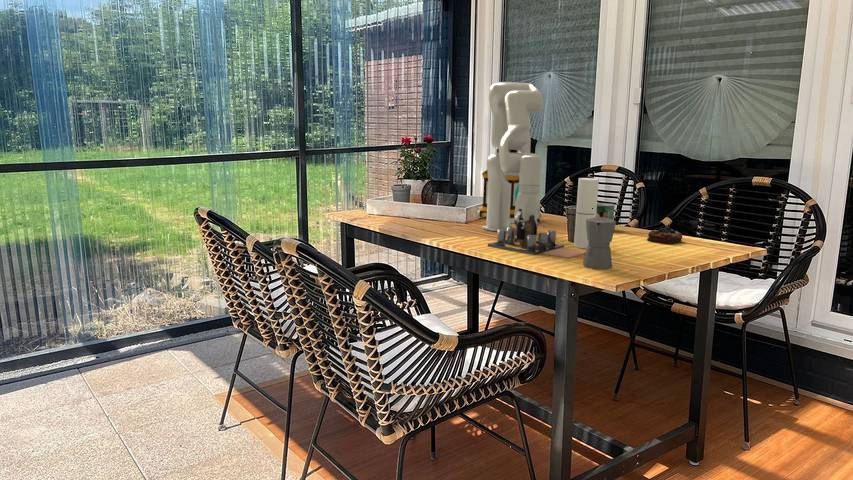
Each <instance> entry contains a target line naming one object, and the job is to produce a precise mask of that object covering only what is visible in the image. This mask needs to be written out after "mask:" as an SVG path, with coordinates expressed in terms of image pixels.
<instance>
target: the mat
mask: <svg viewBox="0 0 853 480" xmlns="http://www.w3.org/2000/svg"><path fill="white" fill-rule="evenodd" d="M585 253H586V251H579V250H575V249H568V248H565V247H564V248H559V249H555V250H551V251H547V252H543V253H542V254H543V255H546V256H553V257H558V258H564V259H567V260H568V259H572V258H575V257H578V256H582V255H585Z"/></svg>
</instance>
